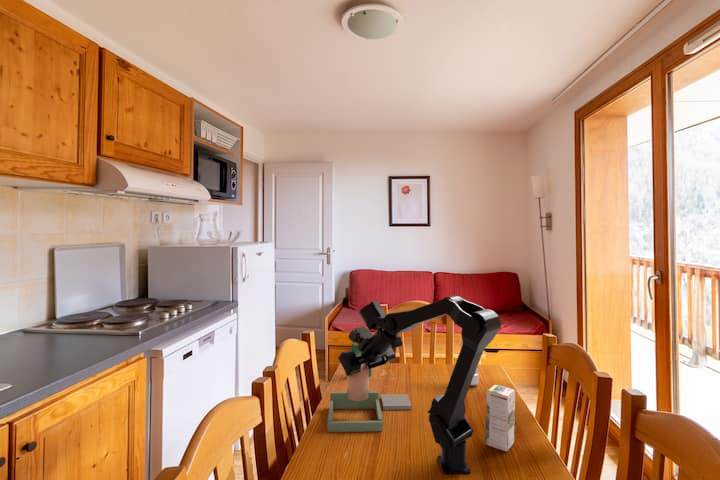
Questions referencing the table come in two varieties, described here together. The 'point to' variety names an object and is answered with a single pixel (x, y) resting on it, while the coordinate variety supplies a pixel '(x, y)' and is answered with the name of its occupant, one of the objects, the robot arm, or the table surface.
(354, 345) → the coffee box
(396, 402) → the slate tile
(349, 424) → the frame
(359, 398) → the pink tall rounded piece
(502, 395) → the syrup box
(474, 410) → the table surface
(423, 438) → the table surface
